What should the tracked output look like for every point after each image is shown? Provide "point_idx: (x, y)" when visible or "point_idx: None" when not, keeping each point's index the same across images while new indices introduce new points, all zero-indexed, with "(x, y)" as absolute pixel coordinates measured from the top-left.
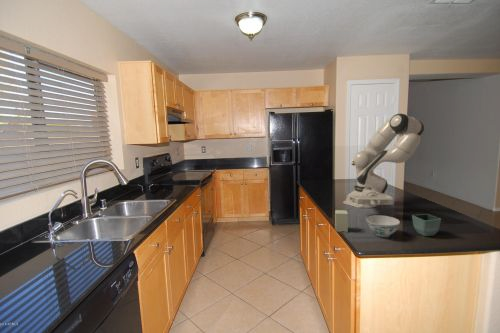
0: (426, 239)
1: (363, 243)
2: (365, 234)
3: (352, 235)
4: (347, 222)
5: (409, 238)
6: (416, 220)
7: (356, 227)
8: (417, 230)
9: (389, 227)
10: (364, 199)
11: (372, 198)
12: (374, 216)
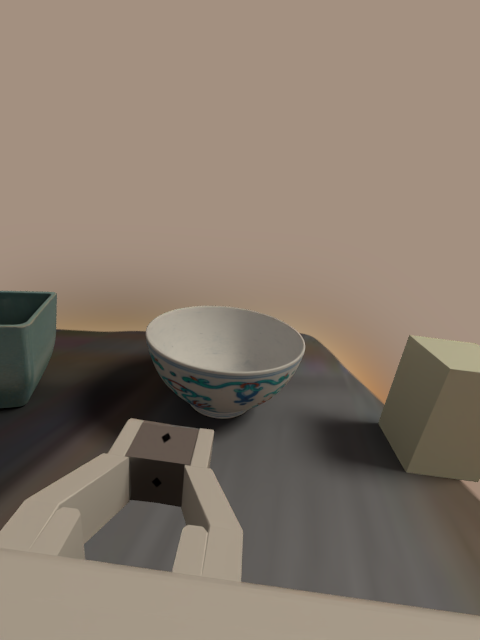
0: (66, 362)
1: (303, 355)
2: (295, 401)
3: (348, 396)
4: (395, 379)
5: (126, 369)
6: (42, 329)
7: (349, 481)
8: (35, 384)
9: (220, 314)
10: (415, 610)
11: (164, 621)
12: (252, 375)
